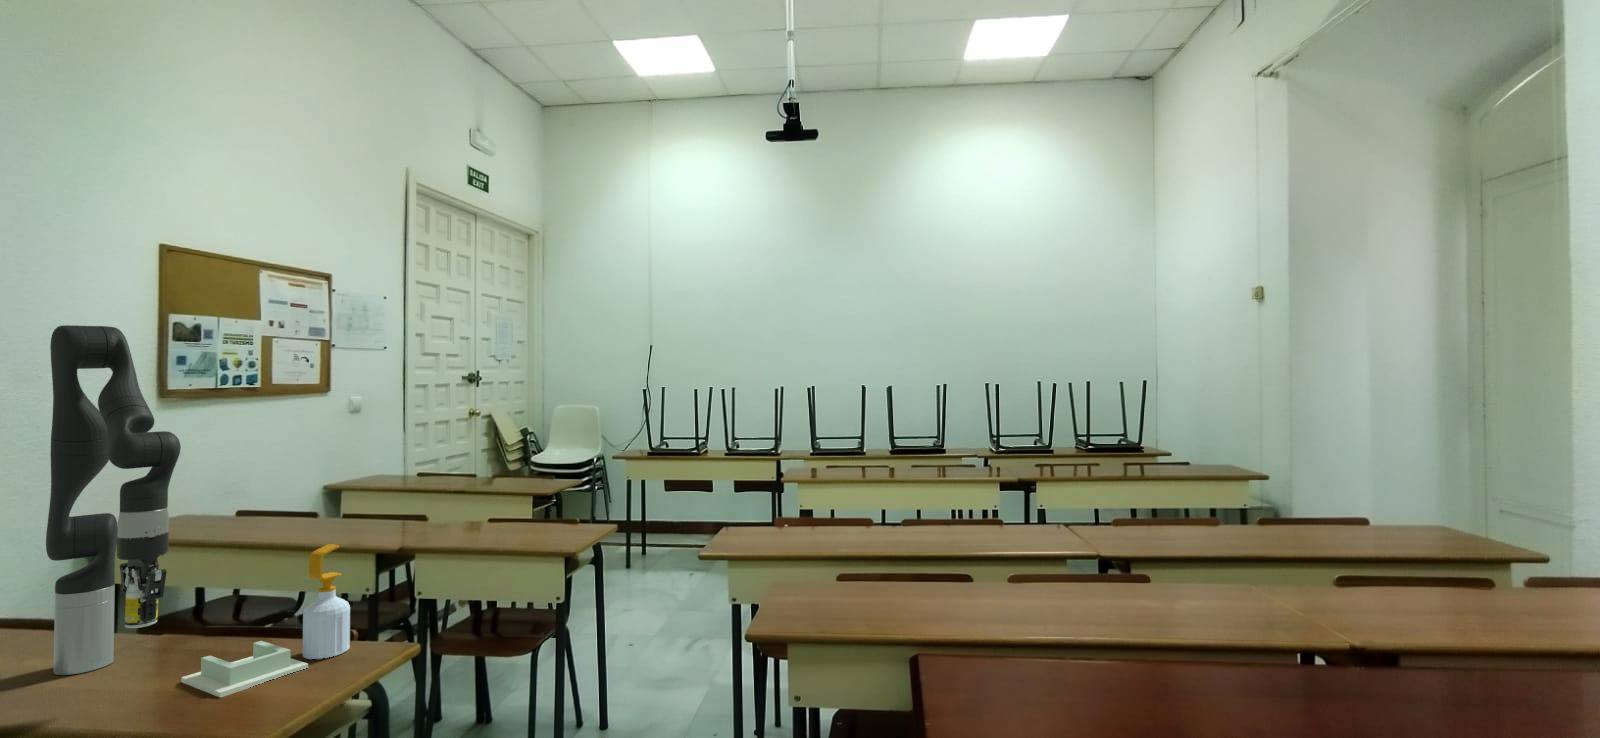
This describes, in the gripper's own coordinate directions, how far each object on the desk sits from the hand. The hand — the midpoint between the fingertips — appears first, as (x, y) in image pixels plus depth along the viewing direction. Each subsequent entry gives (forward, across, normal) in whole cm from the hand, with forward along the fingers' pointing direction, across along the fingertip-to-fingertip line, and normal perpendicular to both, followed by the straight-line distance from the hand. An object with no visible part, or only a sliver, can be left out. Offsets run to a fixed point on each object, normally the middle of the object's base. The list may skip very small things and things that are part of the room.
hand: (141, 617), depth 139 cm
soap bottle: (+16, +10, +30) cm, 35 cm away
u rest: (+15, +8, +15) cm, 23 cm away
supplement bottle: (+2, 0, 0) cm, 2 cm away
